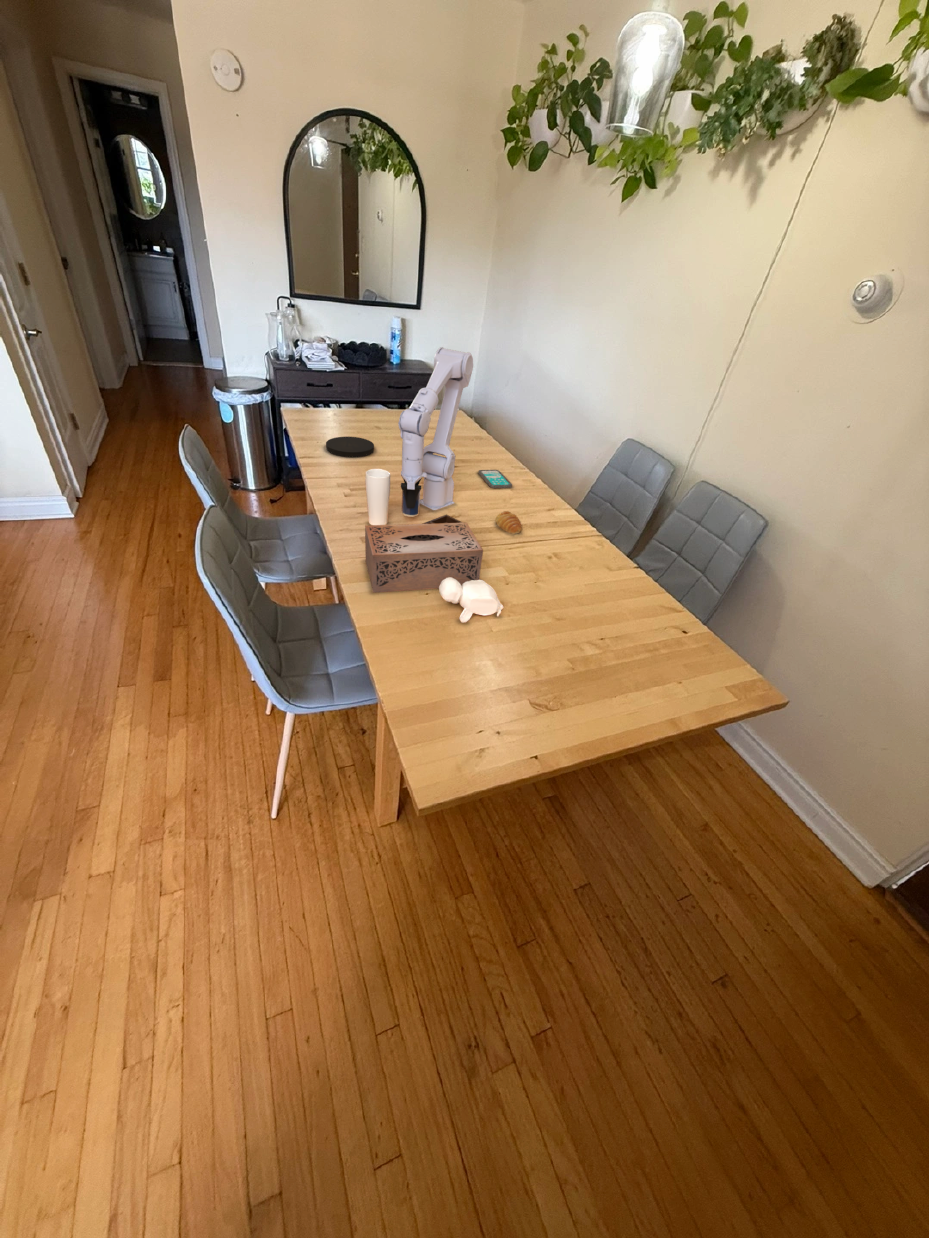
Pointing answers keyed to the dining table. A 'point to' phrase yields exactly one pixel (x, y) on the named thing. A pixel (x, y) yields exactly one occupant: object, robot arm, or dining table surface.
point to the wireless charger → (350, 447)
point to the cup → (410, 511)
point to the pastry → (509, 522)
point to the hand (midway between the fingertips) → (410, 503)
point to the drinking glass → (377, 495)
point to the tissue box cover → (420, 555)
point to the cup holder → (443, 520)
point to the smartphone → (495, 479)
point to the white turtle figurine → (471, 597)
